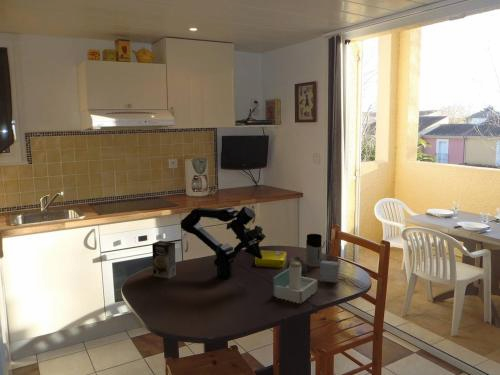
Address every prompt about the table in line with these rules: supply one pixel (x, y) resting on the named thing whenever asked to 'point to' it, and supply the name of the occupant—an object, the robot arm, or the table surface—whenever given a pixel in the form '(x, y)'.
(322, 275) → the medicine box
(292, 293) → the dock housing
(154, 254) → the coffee box
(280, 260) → the yellow box
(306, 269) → the fossil
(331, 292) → the table surface
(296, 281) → the salt jar
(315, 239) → the glass holder
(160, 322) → the table surface
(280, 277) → the white and teal drawer
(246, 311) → the table surface
